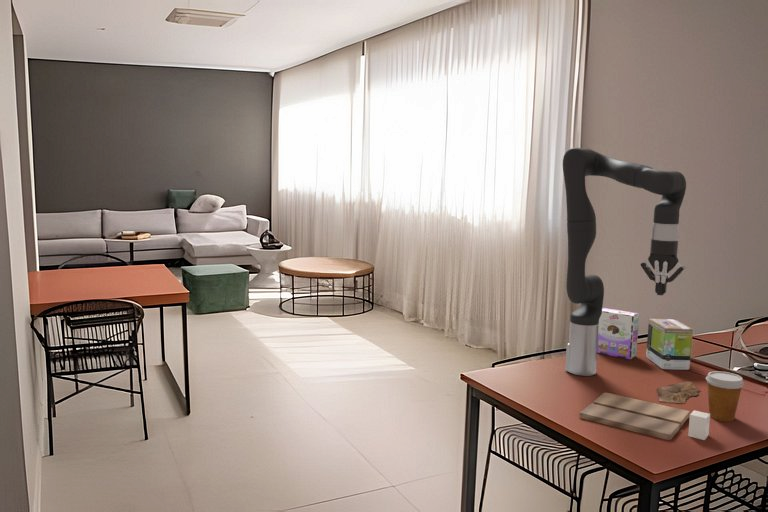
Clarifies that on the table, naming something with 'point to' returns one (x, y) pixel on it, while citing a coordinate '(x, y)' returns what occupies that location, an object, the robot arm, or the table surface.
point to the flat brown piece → (677, 392)
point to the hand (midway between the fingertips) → (660, 294)
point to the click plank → (643, 408)
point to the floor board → (630, 421)
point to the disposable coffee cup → (723, 394)
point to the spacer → (699, 425)
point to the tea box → (669, 344)
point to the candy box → (618, 333)
